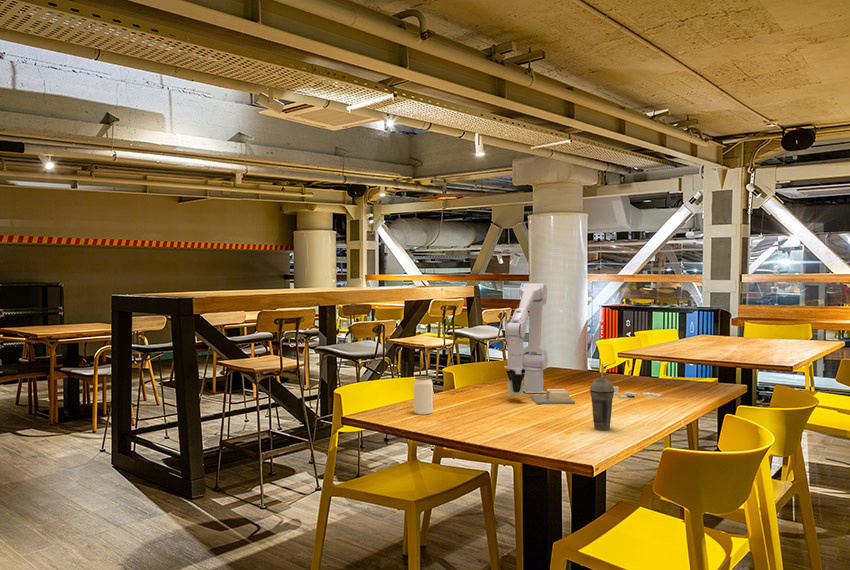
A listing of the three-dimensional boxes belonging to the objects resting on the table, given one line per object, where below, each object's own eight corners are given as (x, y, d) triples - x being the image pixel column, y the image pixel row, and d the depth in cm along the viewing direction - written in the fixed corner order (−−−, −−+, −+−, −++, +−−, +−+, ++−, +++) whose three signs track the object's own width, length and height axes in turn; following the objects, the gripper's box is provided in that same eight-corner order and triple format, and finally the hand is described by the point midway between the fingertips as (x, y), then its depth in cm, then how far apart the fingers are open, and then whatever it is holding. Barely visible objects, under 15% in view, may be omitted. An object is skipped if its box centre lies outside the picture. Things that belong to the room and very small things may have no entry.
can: (415, 415, 211) (415, 379, 210) (412, 411, 217) (412, 376, 217) (434, 414, 212) (434, 379, 211) (430, 410, 218) (430, 376, 218)
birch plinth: (546, 397, 239) (546, 389, 239) (564, 396, 239) (564, 389, 239) (550, 400, 232) (550, 392, 232) (569, 400, 232) (569, 392, 232)
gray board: (530, 397, 242) (530, 395, 242) (566, 397, 243) (566, 395, 243) (537, 404, 229) (537, 401, 229) (575, 403, 230) (575, 401, 230)
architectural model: (645, 405, 230) (645, 399, 230) (584, 397, 244) (584, 392, 244) (662, 396, 246) (662, 391, 246) (604, 390, 260) (604, 385, 260)
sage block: (507, 393, 238) (507, 380, 238) (520, 393, 238) (520, 380, 238) (509, 395, 233) (509, 382, 233) (523, 395, 233) (523, 382, 233)
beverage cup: (613, 426, 195) (613, 361, 194) (615, 432, 187) (615, 365, 187) (589, 425, 196) (589, 361, 196) (589, 430, 189) (590, 364, 189)
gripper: (501, 352, 242) (501, 387, 242) (507, 357, 228) (507, 394, 228) (519, 352, 242) (519, 387, 243) (527, 356, 228) (527, 394, 228)
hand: (515, 390), depth 235 cm, fingers closed on sage block, 5 cm apart
